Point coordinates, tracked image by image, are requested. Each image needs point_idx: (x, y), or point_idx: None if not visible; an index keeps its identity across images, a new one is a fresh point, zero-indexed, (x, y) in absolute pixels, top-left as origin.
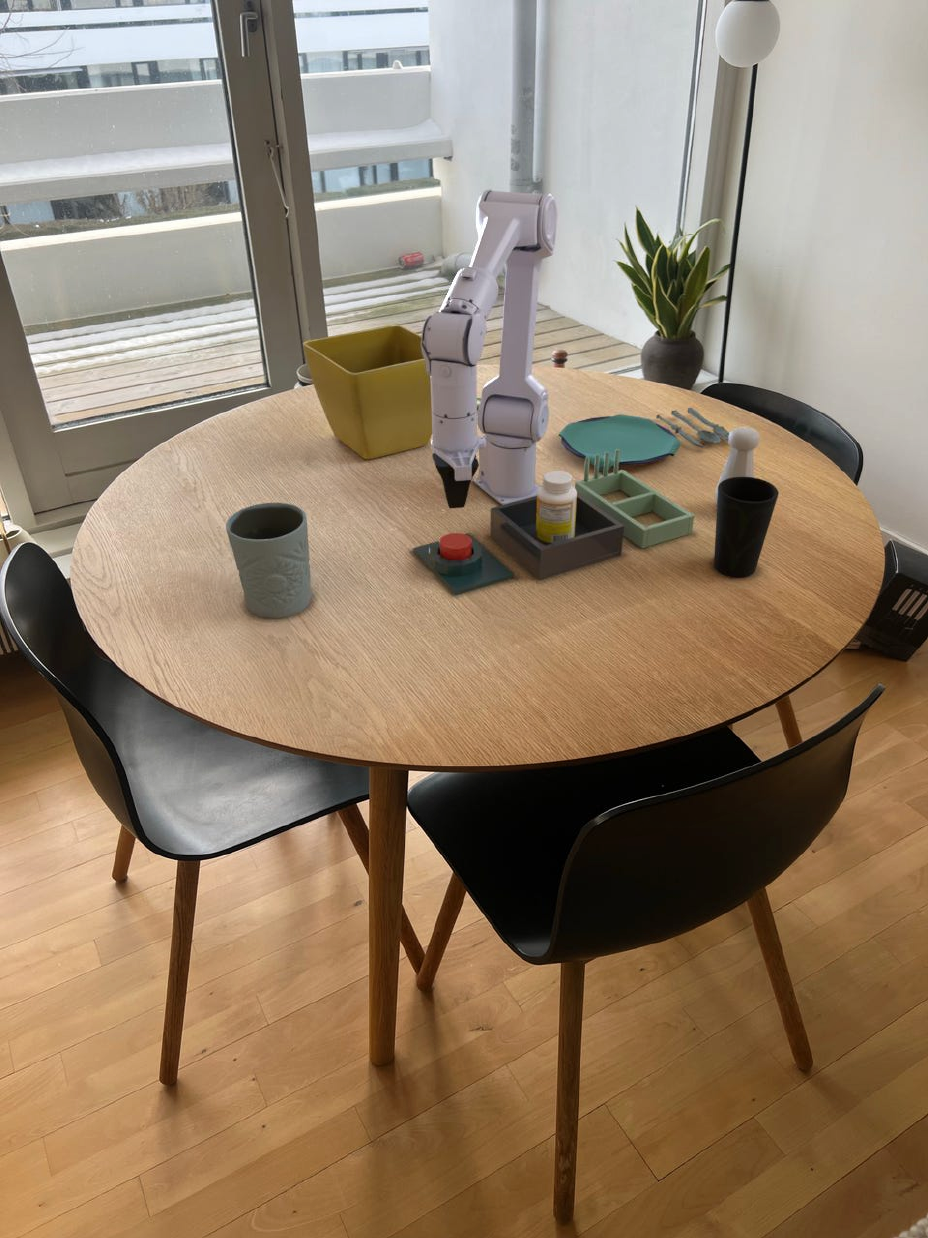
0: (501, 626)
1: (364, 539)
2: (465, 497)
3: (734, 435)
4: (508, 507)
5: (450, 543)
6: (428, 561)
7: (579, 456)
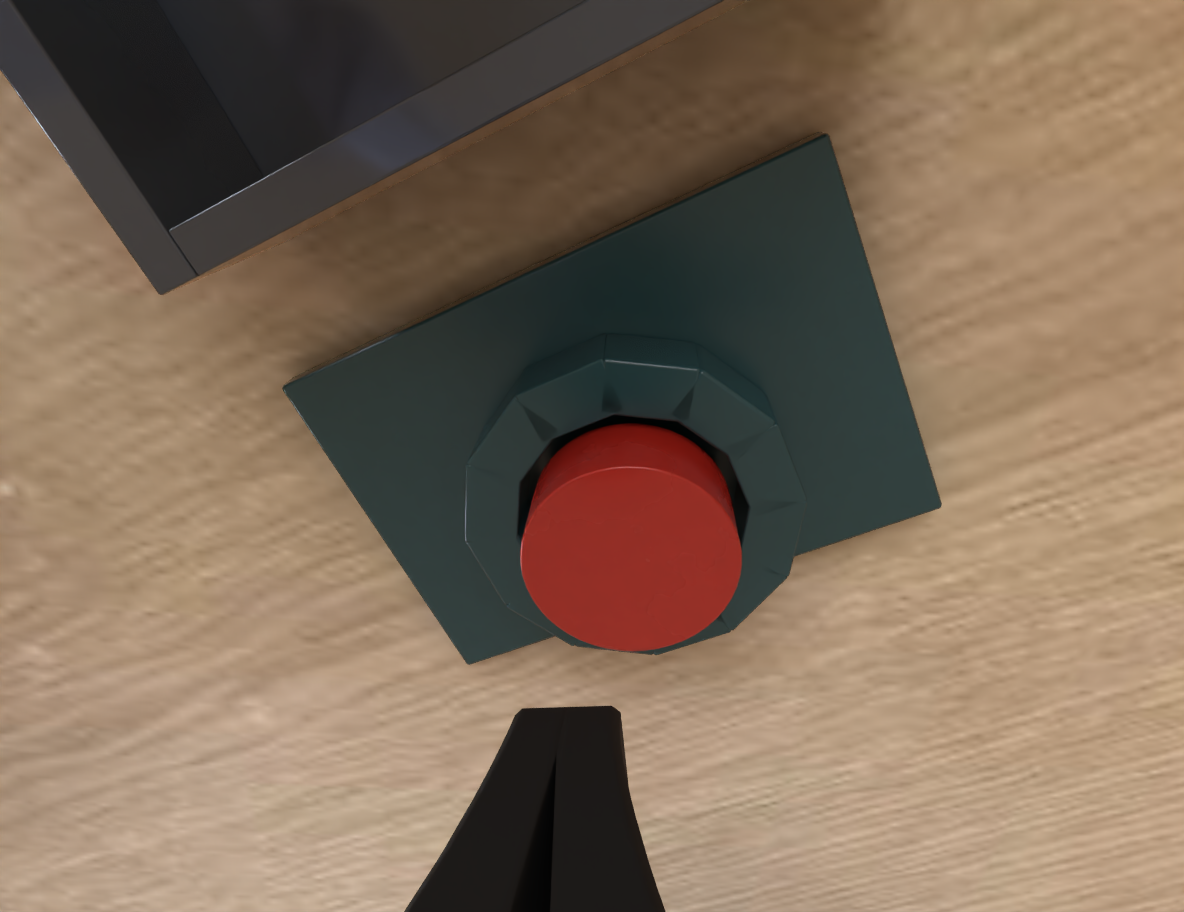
0: None
1: (361, 810)
2: (630, 798)
3: None
4: (100, 119)
5: (661, 595)
6: None
7: None
